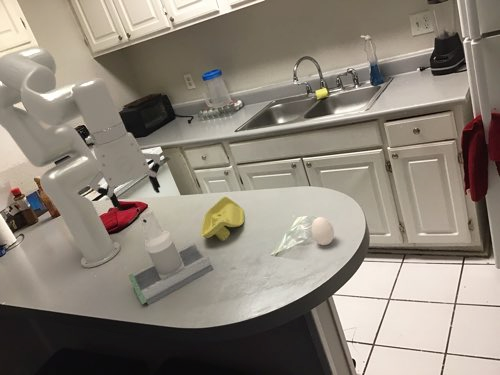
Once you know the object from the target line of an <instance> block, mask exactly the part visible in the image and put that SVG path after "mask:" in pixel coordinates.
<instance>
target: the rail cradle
mask: <svg viewBox="0 0 500 375" xmlns="http://www.w3.org/2000/svg"><path fill="white" fill-rule="evenodd" d="M178 252H179V255H180V257H181V259H182V261H183V264H184V266H185V267H184V268H182V269H180V270H178V271H177V272H175V273H173V274H171V275H169V276H167V277H165V278H164V279H161V278H160V276H159V274H158V272H157V270H156V268H155V266H154V264H153V263H152V264H150V265H148V266H147V267H144V268H142V269H141V270H139V271H136V272H135V273H131V274H129V275H128V278H129V280H130V282H131V285H132V287H133V289H134V291H135V293H136V294H137V298H138V299H139V301H140V303H141V305H144V304H146V303H147V305H148V306H150V305H152V304H154V303H155V302H157V301H158V300H159V301H160V299H162V298H164V297H166V296H168V295H169V294H171V293H173V292H175V291H177V290H178V289H180V288H181V287H184V286H185V285H187V284H189V283H191V282H192V281H194V280H197V279H199V278H200V277H201V276H203V275H206V274H207V273H210V271H213V270H214V268H213V267H214V266H213V265H212V263H211V261H210V259H209V256H208V255H205V256H203V254H202V253H201V252H200V251H199V248H198V246H197V244H196V243H195V242H192V243H191V244H188V245H187V246H186V245H185V246H184V247H183V248H181V249H178Z"/></svg>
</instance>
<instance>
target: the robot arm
mask: <svg viewBox="0 0 500 375" xmlns="http://www.w3.org/2000/svg"><path fill="white" fill-rule="evenodd" d="M56 72H57V64H56V60H55V59H54V57H53V56H52V54H51V53H50V52H49V51H48V50H47V49H46V48H44V47H41V46H36V45H34V46H30V47H26V48H23V49H20V50H17V51H12V52H9V53H7V54H4V55H2V56H1V57H0V126H1V127H2V128H4V130H6V131H7V133H8V134H9V136H10V137H11V138H12V140H13V141H14V142H15V144H16V145H17V147H18V148H19V149H20V151H21V152H22V154H23V155H24V156H25V157H26V159H27V160H28V162H29V163H30V164H32V165H33V166H34V167H35V168H43V167H47V166H49V165H51V164H53V163H55V162H57V161H59V160H61V159H63V158H65V157H67V156H68V157H70V158H69V159H67V160H65V161H63V162H61V163H58V164H57V165H55V166H53V167H51V168H50V169H48V170H46V171H45V172H44V173H43V174H42V175H41V177H40V182H39V184H40V187H41V189H42V191H43V193H45V195H46V196H47V197H48V198H49V200H50V201H51V202H52V203H53V205H54V207H55V208H56V209H57V212H58V213H59V215H60V216H61V219H62V220H63V222H64V223H65V225H66V227H67V228H68V230H69V233H70V234H71V236H72V238H73V240H74V242H75V243H76V245H77V247H78V248H79V250H80V253H81V255H82V258H81V260H80V264H81V266H82V267H83V268H96V267H99V266H101V265H102V264H104V263H106V262H108V261H110V260H111V259H113V258H114V257H115V256H117V255H118V253H119V252H120V251H121V245H120V243H119V242H118V241H112V238H111V236H110V235H109V232H108V231H107V229H106V227H105V225H104V223H103V220H102V219H101V217H100V215H99V213H98V211H97V209H96V207H95V205H94V204H93V203H94V202H92V200H90V199H89V198H88V197H86V196H83V195H80V194H79V192H80V191H82V190H83V189H85V188H87V187H88V186H89V187H90V188H91V189H92V190H94V191H95V192H97V193H98V194H100V195H102V196H106V197H107V198H108V197H109V200H110V201H111V204H112V205H113V208H114V209H116V208H117V209H118V210H119V211H122V210H123V207H122V206H121V204H120V201H119V199H118V197H117V195H116V193H115V188H118V187H120V186H122V185H125V184H128V183H130V182H131V181H134V180H136V179H138V178H141V177H143V176H145V175H147V176H148V179H149V182H150V184H151V186H152V188H153V190H154V192H155V193H157V194H160V193H161V192H160V188H161V185H160V182H159V180H158V178H157V175H158V171H159V169H160V167H161V165H160V163H161V155H160V154H158V153H150V152H149V153H147V152H143V151H142V149H141V146H140V145H139V143H138V142H137V139H136V138H135V137H134V134H133V133H132V132H128V131H127V129H126V127H125V124H124V122H123V120H122V118H121V115H120V113H119V110H118V108H117V106H116V103H115V102H114V98H113V96H112V93H111V92H110V89H109V87H108V85H107V82H106V81H105V80H104V79H103V78H102V77H95V78H90V79H85V78H83V79H77V80H75V81H73V82H70V83H67V84H65V85H62V86H59V87H57V79H56V76H55V75H56ZM19 103H22V104H23V106H24V108H25V109H26V110H24V109H23V108H19V107H17V106H14V105H16V104H19ZM80 117H82V120H83V122H84V124H85V126H86V128H87V130H88V133H89V134H88V136H87V137H85V138H84V139H83V138H82V136H81V135H80V134H79V133H78V131H77V129H75V128H74V126H72V125H70V124H68V123H69V122H70V121H73V120H76V119H77V118H80ZM41 122H42V123H43V124H45V125H48V126H50V127H48V128H45V127H44V126H43V125H42V124H41ZM84 140H85V141H84ZM89 144H94V145H93V147H92V148H93V151H94V152H92V151H91V149H90V148H89V147H88V145H89ZM147 160H153V164H152V165H151V166H152V167H151V168H150V167H149V164H148V161H147ZM103 179H104V181H105V183H106V185H107V186H106V187H105V188H104V187H101V186H100V185H99V183H100V182H101V181H102V180H103Z"/></svg>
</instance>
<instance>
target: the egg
mask: <svg viewBox="0 0 500 375" xmlns="http://www.w3.org/2000/svg"><path fill="white" fill-rule="evenodd" d="M310 229H311V236H312V238H313V240H314V241H315V242H316V243H317V244H319V245H321V246H328V245H329V244H330V243H332V241H333V240H334V237H335V230H334V228H333V224H332V223H331V222H330V221H329V220H328V219H327V218H325V217H323V216H318V217H316V218H314V220H313V222H312V224H311V228H310Z"/></svg>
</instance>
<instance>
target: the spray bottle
mask: <svg viewBox="0 0 500 375" xmlns="http://www.w3.org/2000/svg"><path fill="white" fill-rule="evenodd" d="M139 219H140V221H141V226H142V228H143V230H144V232H145V233H144V234H145V235H146V237H147V238H146V239H145V240H144V247H145V249H146V251H147V253H148V255H149V257H150V259H151V261H152V264H154V266H155V268H156V270H157V272H158V274H159V276H160V278H161V279H164V278H165V277H167V276H169V275H171V274H173V273H175V272H177V271H178V270H180V269H182V268H184V267H185V266H184V264H183V261H182V259H181V257H180V255H179V252H178V251H179V249H178V248H177V245H176V243H175V241H174V239H173V237H172V235H171V232H170V231H168V230H163V228H162V226H161V224H160V222H159V220H158V218H157V217H156V216H155V214H154V212H153V211H150V212H143V213H142V214H141V215H139Z"/></svg>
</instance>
